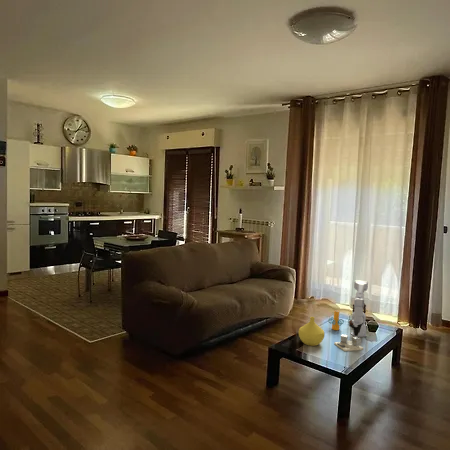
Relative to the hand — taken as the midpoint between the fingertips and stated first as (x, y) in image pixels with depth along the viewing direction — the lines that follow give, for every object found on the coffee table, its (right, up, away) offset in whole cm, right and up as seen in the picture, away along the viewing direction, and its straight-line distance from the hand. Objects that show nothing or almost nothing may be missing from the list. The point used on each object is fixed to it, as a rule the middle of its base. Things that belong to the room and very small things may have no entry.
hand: (356, 334), depth 273 cm
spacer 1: (-8, -7, +5) cm, 12 cm away
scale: (-4, -10, +3) cm, 11 cm away
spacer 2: (0, -8, +1) cm, 8 cm away
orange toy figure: (-4, -7, +38) cm, 39 cm away
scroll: (+18, -7, +49) cm, 52 cm away
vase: (-31, -9, +6) cm, 33 cm away
